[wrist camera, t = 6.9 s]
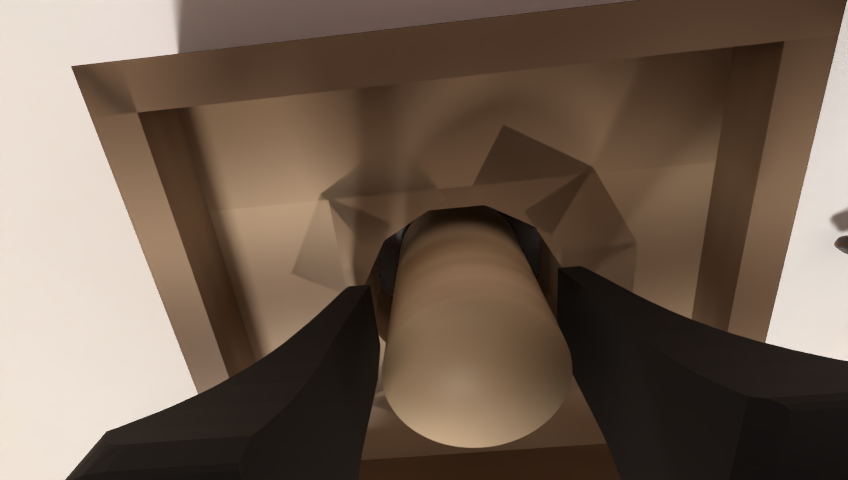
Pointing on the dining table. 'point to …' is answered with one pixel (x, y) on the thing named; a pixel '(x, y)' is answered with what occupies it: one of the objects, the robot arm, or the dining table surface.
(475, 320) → the oak dowel
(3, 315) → the dining table surface
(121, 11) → the dining table surface
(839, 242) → the tan animal figurine
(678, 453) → the robot arm
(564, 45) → the walnut box
